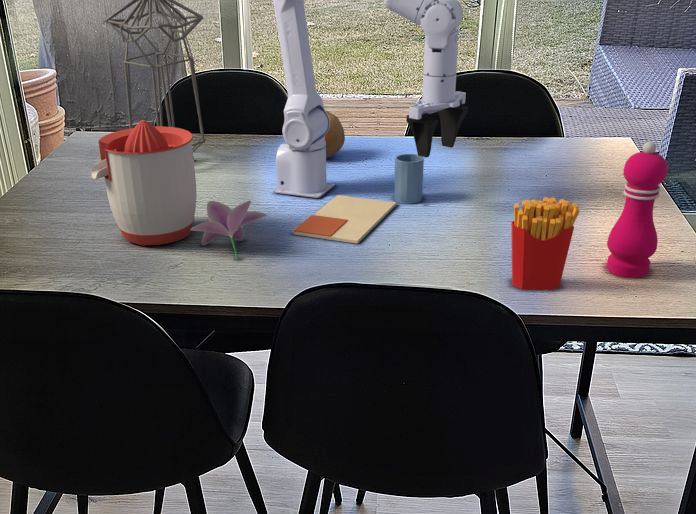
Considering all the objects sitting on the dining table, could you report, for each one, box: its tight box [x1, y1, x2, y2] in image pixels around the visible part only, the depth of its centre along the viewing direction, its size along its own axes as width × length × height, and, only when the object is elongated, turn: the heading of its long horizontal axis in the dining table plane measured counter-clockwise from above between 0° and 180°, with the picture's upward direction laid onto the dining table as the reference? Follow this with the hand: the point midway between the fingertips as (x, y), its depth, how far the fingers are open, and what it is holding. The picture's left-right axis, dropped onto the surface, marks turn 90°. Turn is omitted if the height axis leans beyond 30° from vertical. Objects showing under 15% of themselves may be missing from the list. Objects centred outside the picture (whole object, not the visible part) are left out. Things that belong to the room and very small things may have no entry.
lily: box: [190, 200, 267, 260], centre depth 136 cm, size 12×12×10 cm
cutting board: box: [292, 194, 397, 245], centre depth 150 cm, size 12×20×1 cm, turn 157°
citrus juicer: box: [91, 119, 198, 247], centre depth 140 cm, size 16×17×20 cm
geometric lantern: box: [102, 0, 206, 159], centre depth 172 cm, size 16×16×35 cm
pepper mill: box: [605, 141, 668, 279], centre depth 124 cm, size 7×7×20 cm
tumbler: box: [393, 153, 425, 205], centre depth 156 cm, size 5×5×8 cm
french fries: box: [510, 196, 581, 291], centre depth 122 cm, size 9×4×13 cm, turn 85°
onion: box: [325, 110, 346, 160], centre depth 180 cm, size 10×10×10 cm
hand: (435, 151), depth 150 cm, fingers open, 7 cm apart
